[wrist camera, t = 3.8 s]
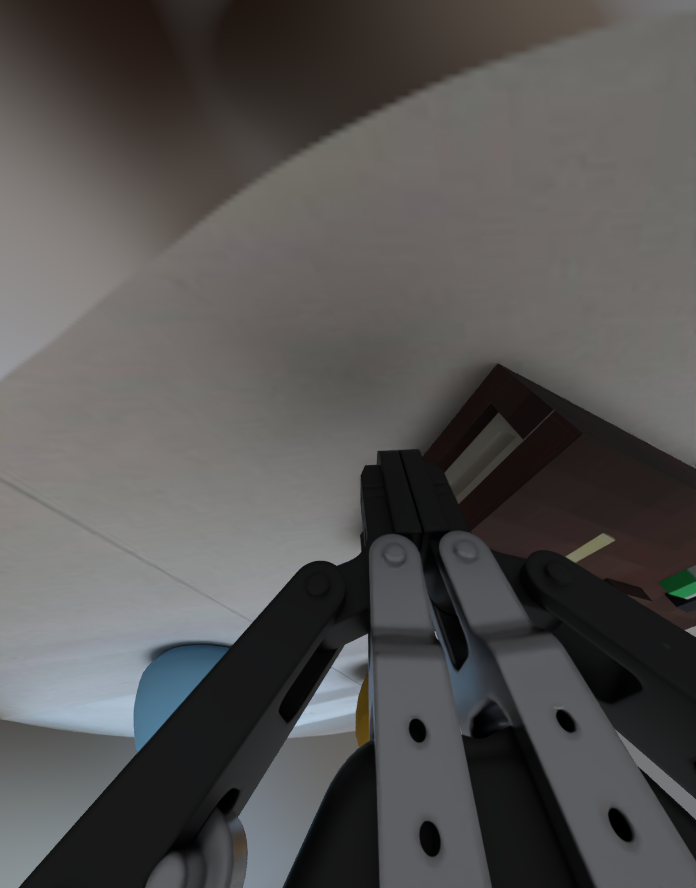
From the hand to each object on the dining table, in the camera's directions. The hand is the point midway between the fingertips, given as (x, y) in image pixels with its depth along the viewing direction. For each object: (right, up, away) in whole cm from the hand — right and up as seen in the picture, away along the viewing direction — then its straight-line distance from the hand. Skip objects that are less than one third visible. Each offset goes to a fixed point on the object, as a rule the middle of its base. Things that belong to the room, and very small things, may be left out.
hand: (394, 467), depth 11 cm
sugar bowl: (-22, -30, +31) cm, 48 cm away
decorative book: (+14, -5, +13) cm, 20 cm away
